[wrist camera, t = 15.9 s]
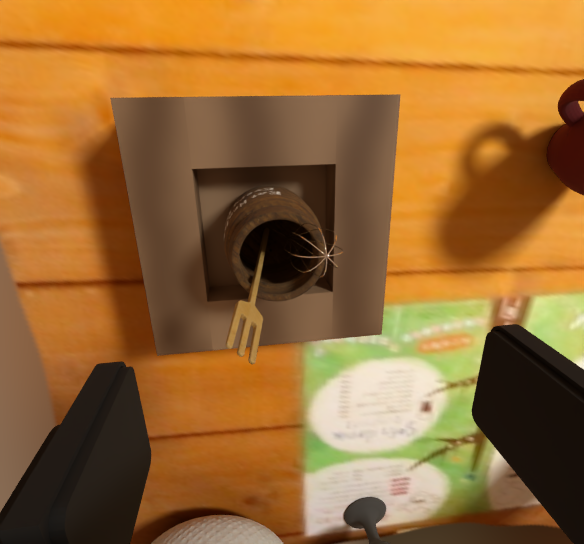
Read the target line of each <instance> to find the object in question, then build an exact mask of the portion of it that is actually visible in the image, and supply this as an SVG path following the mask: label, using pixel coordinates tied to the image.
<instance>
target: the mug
mask: <svg viewBox="0 0 584 544" xmlns="http://www.w3.org/2000/svg"><path fill="white" fill-rule="evenodd" d="M578 101H584V79H583V80H579V81H577V82H576V83H574V84H572V85H571V86H570V87H568V88H567V89H566V90H565V91H564V93H563V94H562V95H561V97H560V100H559V102H558V112H559V114H560V116H561V118H562V119H563V120H564V122H565V123H566V124H565V125H563V126H562V127H561V128H560V129H559V130H558V131H557V132H556V133H555V134H554V136H553V137H552V139H551V141H550V143H549V146H548V149H547V160H548V164H549V166H550V168H551V169H552V170H553V171H554V173H555V174H556V175H557V177H558V178H559V179H560V180H561V181H562V182H563V183H564V184H565V185H566V186H567V187H569V188H570V189H572V190H573V191H575V192H577V193H579V194H582V195H584V112H583V111H582V110H581V108H580V106H579V103H578Z"/></svg>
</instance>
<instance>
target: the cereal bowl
mask: <svg viewBox="0 0 584 544" xmlns="http://www.w3.org/2000/svg"><path fill="white" fill-rule="evenodd" d="M151 544H283V542H282V541H281V540H280V539H279V538H278V536H276V535H275V534H274V532H272V531H270V530H269V529H268V528H266V527H265V526H264V525H261V524H260V523H258V522H255V521H253V520H250V519H247V518H243V517H238V516H232V515H210V516H204V517H199V518H195V519H192V520H189V521H185V522H183V523H181V524H179V525H176V526H175V527H173V528H170V529H169V530H168V531H166V532H164V533H163V534H162V535H161V536H159V537H158V538H157V539H156V540H154V541H153V542H152V543H151Z"/></svg>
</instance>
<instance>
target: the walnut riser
mask: <svg viewBox="0 0 584 544" xmlns="http://www.w3.org/2000/svg"><path fill="white" fill-rule="evenodd" d="M111 103H112V109H113V114H114V120H115V125H116V131H117V136H118V142H119V147H120V153H121V158H122V164H123V169H124V175H125V180H126V186H127V192H128V197H129V203H130V208H131V214H132V219H133V225H134V230H135V236H136V241H137V247H138V252H139V258H140V263H141V269H142V274H143V280H144V285H145V291H146V296H147V302H148V307H149V313H150V318H151V324H152V329H153V335H154V340H155V346H156V351H157V356H159V355H169V354H180V353H190V352H201V351H211V350H222V349H228V348H227V347H226V340H227V336H228V332H229V328H230V324H231V320H232V316H233V312H234V308H235V304H236V303H237V302H238V301H240V300H242V301H246V302H248V298H249V294H250V293H249V292H247V291H246V290H245V289H244V288H243V287H242V286H241V285H240V284H239V282H238V281H237V279H236V278H235V276H234V274H233V272H232V269H231V267H230V265H229V263H228V261H227V258H226V255H225V250H224V229H225V222H226V218H227V215H228V212H229V210H230V208H231V206H232V205H233V203H234V202H235V201H236V200H237V198H238V197H240V196H241V195H242V194H243V193H245V192H246V191H248V190H250V189H252V188H254V187H258V186H263V185H275V186H280V187H284V188H286V189H288V190H290V191H292V192H294V193H295V194H296V195H298V196H299V197H300V198H301V199H302V200H303V201H304V202H305V203H306V204H307V205H308V206H309V207H310V209H311V210H312V211H313V213H314V214H315V216H316V217H317V219H318V221H319V223H320V226H321V228H326V229H329V230H331V231H334V232H335V233H336V235H337V239H336V235H335V233H333V232H331V231H329V230H326V229H322V234H323V236H324V239H325V243H329V244H332V245H334V243H335V239H336V243H335V246H337V247H339V248H341V249H343V253H341V252H342V250H341V249H339V248H337V247H335V246H334V247H333V246H332V245H329V244H326V249H327V254H328V253H329V251H330V250H331V248H332V247H333V249H332V250H331V252H330V253H329V255H334V254H338V253H341V254H339V255H335V256H329V258H330V259H331V260H332V261H333V262H334V263H335V264H336V265H337V266H338V268H335V267H336V266H335V264H334V263H333V262H332V261H330V260H329V259H328V258H327V262H328V263H329V264H331V265H333V266H335V267H333V266H331V265H329V264H327V268H326V262H325V265H324V268H323V271H322V273H321V275H320V276H322V275H323V274H324V272H325V268H326V272H325V274H324V276H323V277H319V279H318V280H317V282H316V283H315V284H314V285H313V286H312V287H311V288H310V289H309V290H308V291H307V292H305V293H304V294H302V295H300V296H298V297H296V298H294V299H291V300H286V301H267V300H263V299H260V298H257V297H256V301H255V306H256V308H257V310H258V311H259V312H260V314H261V315H262V317H263V323H262V328H261V334H260V339H259V345H258V346H264V345H275V344H285V343H296V342H306V341H317V340H327V339H338V338H348V337H359V336H369V335H380V334H382V322H383V309H384V296H385V284H386V271H387V258H388V245H389V233H390V220H391V207H392V195H393V182H394V169H395V156H396V144H397V131H398V118H399V106H400V95H326V96H237V97H148V98H111ZM326 257H327V256H326ZM325 261H326V259H325ZM242 326H243V320H242V319H241V318H240V321H239V325H238V328H237V332H236V336H235V340H234V343H233V347H232V348H238V346H239V341H240V336H241V331H242ZM252 335H253V327H252V326H250V330H249V335H248V339H247V344H246V347H251V341H252ZM232 348H231V349H232Z"/></svg>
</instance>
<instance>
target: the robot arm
mask: <svg viewBox="0 0 584 544" xmlns="http://www.w3.org/2000/svg"><path fill="white" fill-rule="evenodd" d="M472 416H473V419H474V421H475V423H476V424H477V426H478V427H479V428H480V429H481V431H482V432H483V433H484V434H485V435H486V437H487V438H488V439H489V440H490V442H491V443H492V444H493V445H494V447H495V448H496V449H497V450H498V451H499V453H500V454H501V455H502V456H503V458H504V459H505V460H506V461H507V463H508V464H509V465H510V466H511V467H512V469H513V470H514V471H515V472H516V474H517V475H518V476H519V477H520V479H521V480H522V481H523V482H524V484H525V485H526V486H527V487H528V488H529V490H530V491H531V492H532V493H533V495H534V496H535V497H536V498H537V500H538V501H539V502H540V503H541V504H542V506H543V507H544V508H545V509H546V511H547V512H548V513H549V514H550V516H551V517H552V518H553V519H554V520H555V522H556V523H557V524H558V525H559V527H560V528H561V529H562V530H563V532H564V533H565V534H566V535H567V536H568V538H569V539H570V540H571V541H572V542H573V543H574V544H584V370H583V369H582V368H580V367H579V366H578V365H576V364H575V363H573V362H572V361H570V360H569V359H567V358H566V357H565V356H563V355H562V354H560V353H559V352H557V351H556V350H554V349H553V348H552V347H550V346H549V345H547V344H546V343H544V342H543V341H542V340H540V339H539V338H537V337H536V336H534V335H533V334H531V333H530V332H529V331H527V330H526V329H524V328H523V327H521V326H519V325H516V324H513V325H503V326H495V327H493V329H492V330H491V332H489V333H488V334H487V336H486V340H485V345H484V350H483V355H482V360H481V365H480V371H479V376H478V381H477V386H476V391H475V396H474V401H473V406H472ZM150 463H151V448H150V443H149V439H148V434H147V429H146V424H145V420H144V415H143V410H142V406H141V401H140V396H139V391H138V387H137V382H136V377H135V373H134V369H133V367H126V365H125V363H124V362H112V363H101V364H97V365H96V366H95V368H94V369H93V371H92V373H91V374H90V376H89V378H88V379H87V381H86V383H85V384H84V386H83V388H82V389H81V391H80V393H79V394H78V396H77V398H76V399H75V401H74V403H73V405H72V406H71V408H70V410H69V411H68V413H67V415H66V416H65V418H64V420H63V421H62V423H61V425H57V426H56V427H54V428H53V429H52V430H51V432H50V433H49V435H48V436H47V438H46V439H45V441H44V443H43V444H42V446H41V447H40V449H39V451H38V452H37V454H36V455H35V457H34V459H33V460H32V462H31V464H30V465H29V467H28V468H27V470H26V472H25V473H24V475H23V477H22V478H21V480H20V481H19V483H18V485H17V486H16V488H15V490H14V491H13V493H12V494H11V496H10V498H9V499H8V501H7V503H6V504H5V506H4V508H3V509H2V511H1V512H0V544H130V542H131V538H132V534H133V530H134V526H135V523H136V519H137V515H138V511H139V507H140V503H141V499H142V495H143V491H144V488H145V484H146V480H147V476H148V472H149V468H150Z"/></svg>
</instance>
